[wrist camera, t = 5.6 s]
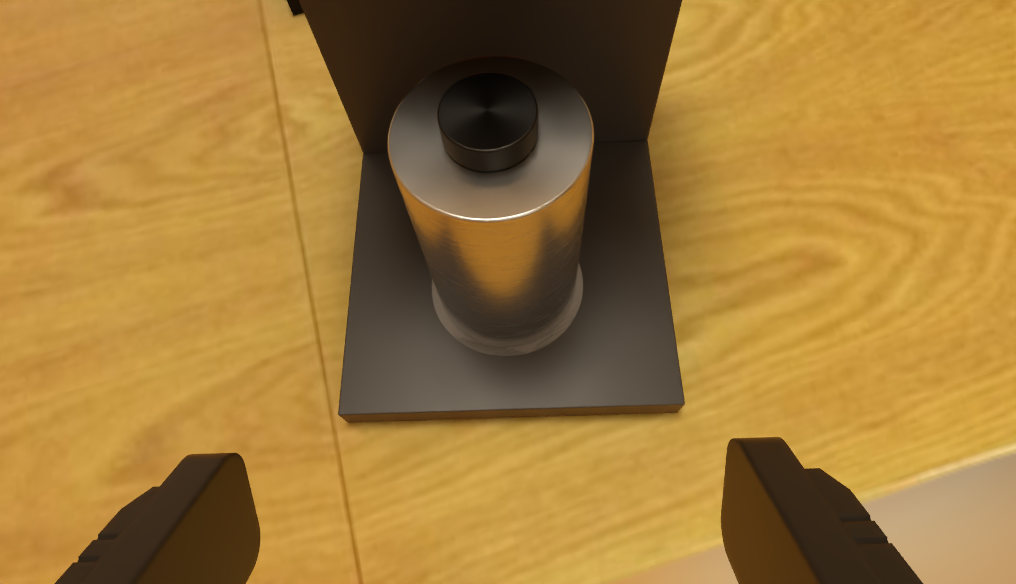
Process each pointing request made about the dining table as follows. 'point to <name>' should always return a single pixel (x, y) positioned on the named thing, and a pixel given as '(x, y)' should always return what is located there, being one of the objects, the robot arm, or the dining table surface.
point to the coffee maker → (606, 230)
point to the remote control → (295, 6)
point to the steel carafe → (496, 192)
